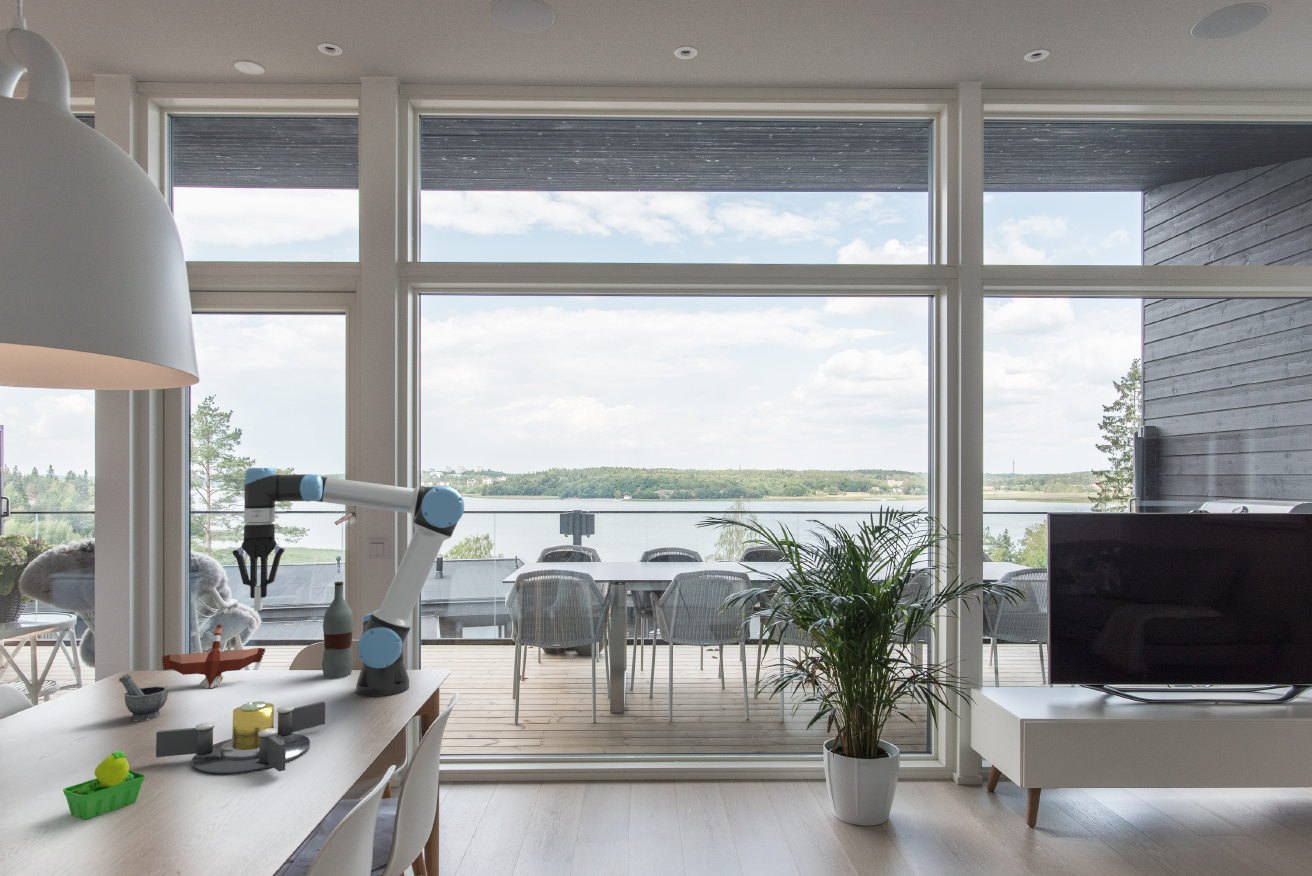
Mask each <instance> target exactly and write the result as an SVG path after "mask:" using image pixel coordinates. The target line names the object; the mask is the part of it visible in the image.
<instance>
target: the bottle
mask: <svg viewBox="0 0 1312 876" xmlns="http://www.w3.org/2000/svg"><path fill="white" fill-rule="evenodd" d="M354 622H355V620H354V615H353V611H352V609H351V607H350V606H349V605H348V603H347V602H346V600H345V599H344V581H335V582H334V598H333V600H332V601H331V603H330V604H329V607H328V608H327V610H326V611H325V613H324V616H323V622H322V629H323V630H322V631H323V641H324V642H323V643H324V645H323V646H324V651H323V656H322V662H321V663H322V664H321V666H322V673H323V677H324V678H325V679H341V678H340V677H342V678H346V677H349V676H351V675H352V672H353V666H354V656H353V649H352V642H353V639H352V638H353V631H354ZM348 675H349V676H348Z"/></svg>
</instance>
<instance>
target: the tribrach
mask: <svg viewBox="0 0 1312 876" xmlns="http://www.w3.org/2000/svg"><path fill="white" fill-rule="evenodd" d="M274 715H275V705H274V704H273V703H270V702H266V701H259V700H258V701H252V702H251V701H249V702H246V703H243V704H242V705H241V706H237V707H235V708H234V709H233V710H232V736H231V737H232V738H229V739H226V740H223V741H219V742H217V743H213V752H212V753H211V754H208V755H202V756H198V755H196V754H194V756H193V757H192V759H191V767H192V769H193V770H194V771H196V772H198V773H201V774H205V775H214V776H220V775H221V776H230V775H233V776H234V775H243V774H249V772H250V773H256V772H261V771H265V769H266V770H268V769H269V768H270V769H273V768H274V767H273V766H271V765H270V764H269V763H268V762H267V763H261V762H259V741H260V736H258V732H259V731H261V730H264V729H269V728H274V727H275V726H274V718H275V717H274ZM276 737H277V738H278V739H279V740H281V741H282V742H284V743H285V744H286V755H285V763H286V764H288V763H291V762H292V761H295V760H297V759H299V758H301V757H302V756H304V755H305V754H307V752H309V750H310V746H311V743H310V742H311V741H310V738H309V737H307V736H305V735H304V734H299V733H295V732H292V734H291V735H289V736H281V735H278V731H277V734H276ZM303 754H304V755H303ZM300 756H301V757H300ZM290 761H291V762H290ZM287 762H288V763H287ZM270 769H269V770H270ZM255 771H256V772H255ZM242 773H243V774H242Z"/></svg>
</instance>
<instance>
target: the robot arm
mask: <svg viewBox="0 0 1312 876" xmlns="http://www.w3.org/2000/svg"><path fill="white" fill-rule="evenodd" d="M243 487H244V488H243V489H244V506H243V508H244V509H243V510H244V511H243V514H244V515H243V523H244V524H245V525H244V526H243V542H242V543H241V546H240V547H238V548H237V549H233V551H232V554H233V556H234V557H235V559H236V562H237V566H238V570H239V573H240V577H241V581H242V584H243V585H246V586H249V587H250V593H249V595H250V596H249V597H250V598H251V599H254V603H253V604H254V606H253V607H254V608H253V609H254V611H253V612H258V611H259V612H260V611H262V610H263V600H264V599H265V598H266V597H267V596H268V585H270V584H272V583H274V582H275V579H276V576H277V573H278V569H279V565H280V562H281V561H280V560H281V558H282V555H283V554H284V553H285V551H286V548H285V547H281V546H279V545H278V543H277V542H276V537H275V535H276V534H275V533H276V532H275V528H276V525H275V524H274V522H275V521H276V502H279V503H282V502H318V503H328V504H336V505H344V506H351V507H352V506H353V507H361V508H368V509H374V510H375V509H376V510H383V511H384V510H385V511H391V512H400V513H408V514H410V515H411V516H412V517H414V520H413V522H412V524H413V527H414V533H413V535H412V537H411V539H410V542H409V544H408V546H407V547H406V550H405V552H404V555H403V557H402V560H401V561H400V562H399V566H398V568H397V570H396V573H395V574H394V577H393V579H392V581H391V583H390V585H389V588H388V590H387V592H386V594H385V597H384V598H383V601H382V604H381V606H380V607H379V608H378V609H376V610H373V611H372V613H366V614H365V615H364V616H363V621H362V625H363V627H362V634H361V636H360V637H359V639H358V641H357V647H356V649H357V654H358V657H359V658H360V661H361V662H362V666H361V670H360V673H359V676H358V679H357V681H356V685H355V686H356V687H355V693H356V694H357V695H359V696H363V697H384V696H391V695H395V694H397V695H398V694H399V693H403V692H405V691H407V690H408V689H409V688H410V678H409V675H408V672H407V668H406V665H405V663H404V661H405V660H404V654H405V653H404V651H405V648H404V646H405V645H404V644H405V642H406V639H407V637H408V635H409V633H410V630H411V628H412V623H411V621H410V618H411V615H412V613H413V610H414V608H415V606H416V603H417V601H418V599H419V597H420V595H421V593H422V590H423V588H424V586H425V583H426V581H427V579H428V577H429V574H430V572H431V570H432V567H433V565H434V564H435V562H436V559H437V557H438V554H439V552H440V550H441V547H442V546H443V542H444V541H446V540H448V539H449V540H450V539H451V538H452V536H453V533H454V531H455V529H456V526H457V525H458V522H459V521H460V519H462V517H463V515H464V511H465V502H464V498H463V496H462V495H461V493H460V492H459V491H458V490H457V489H455V488H453V487H452V486H451V487H450V486H448V485H438V486H423V485H422V486H421V485H417V486H416V487H414V488H412V487H404V486H396V485H390V484H389V485H388V484H383V483H375V482H366V481H358V480H351V479H345V478H344V479H343V478H336V477H327V476H321V475H320V474H313V473H306V474H305V473H304V474H303V473H302V474H277V473H276V469H275V468H273V467H250V468H247V470H245V473H244V483H243ZM273 550H274V554H275V555H274V558H273V561H272V565H271V568H270V571H269V576H268V560H269V556H270V555H271V553H272V552H273ZM245 553H246V554H247V556H248V557H249V561H250V562H249V564H250V566H249V567H250V568H249V569H250V570H249V572H248V569H247V565H246V562H245V557H244V554H245ZM259 558H260V584H259V585H258V560H259ZM249 574H250V575H249ZM263 598H264V599H263Z"/></svg>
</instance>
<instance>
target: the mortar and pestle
mask: <svg viewBox="0 0 1312 876" xmlns="http://www.w3.org/2000/svg"><path fill="white" fill-rule="evenodd" d="M118 681H119V682H120V683H121V684H122V686H123V687H124V688H125V690H126V692H125V693H124V702H125V706H126V708H127V710H128V711H129V712H130V713H132V717H131V719H133V720H138V721H137V722H140V721H139V720H144V721H148V720H147V719H150V720H155V719H156V718H159V717H160V710H161V709H162V707H164V706H165V704H166V702H167V700H168V695H169V688H168V687H167V686H148V687H139V686H138V684H137V683H136V682H135V680H133V678H132V674H130V673H126V674H124V675H122V676H121V677H120V678H119V679H118ZM133 720H132V721H133Z"/></svg>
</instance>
